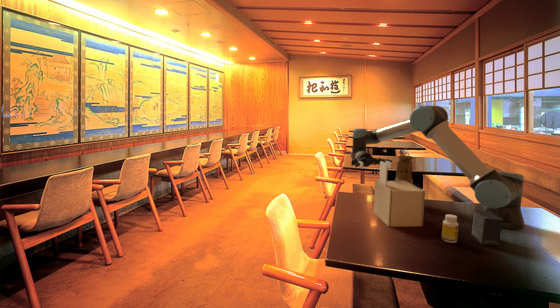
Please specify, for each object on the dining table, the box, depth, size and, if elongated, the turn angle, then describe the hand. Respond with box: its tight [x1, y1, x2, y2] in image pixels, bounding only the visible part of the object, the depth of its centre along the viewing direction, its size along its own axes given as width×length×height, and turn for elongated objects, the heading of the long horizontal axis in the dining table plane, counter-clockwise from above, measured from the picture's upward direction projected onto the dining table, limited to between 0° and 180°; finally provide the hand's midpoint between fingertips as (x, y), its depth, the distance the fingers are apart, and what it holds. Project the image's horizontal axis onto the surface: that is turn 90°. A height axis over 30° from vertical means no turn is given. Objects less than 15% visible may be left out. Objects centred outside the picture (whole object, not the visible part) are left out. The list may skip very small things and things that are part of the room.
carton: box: [387, 180, 426, 228], centre depth 145 cm, size 14×20×16 cm
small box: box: [470, 209, 502, 247], centre depth 123 cm, size 11×6×10 cm, turn 168°
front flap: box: [372, 161, 392, 227], centre depth 144 cm, size 1×20×26 cm, turn 2°
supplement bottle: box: [441, 213, 460, 244], centre depth 123 cm, size 5×5×10 cm
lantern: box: [394, 147, 414, 184], centre depth 172 cm, size 15×10×30 cm
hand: (376, 165), depth 150 cm, fingers open, 13 cm apart
